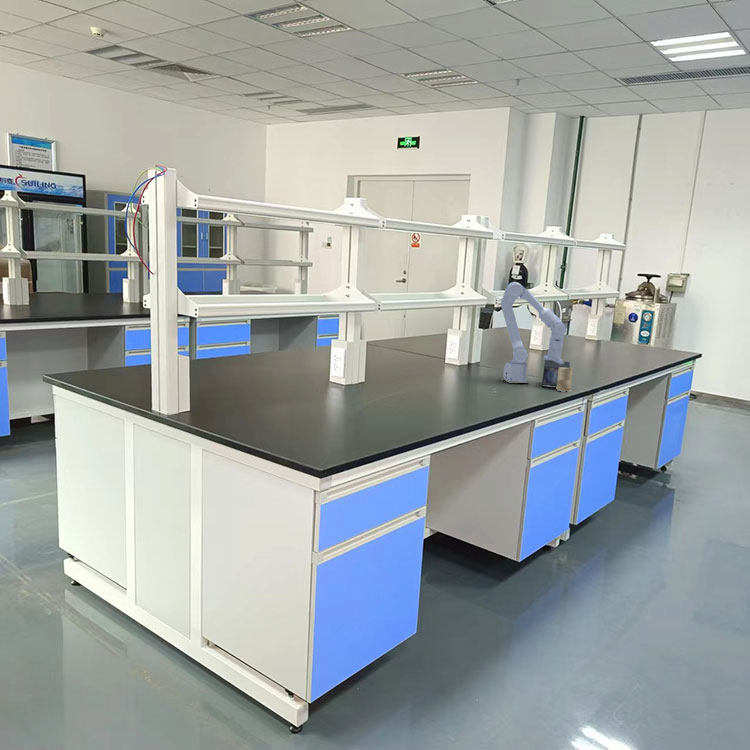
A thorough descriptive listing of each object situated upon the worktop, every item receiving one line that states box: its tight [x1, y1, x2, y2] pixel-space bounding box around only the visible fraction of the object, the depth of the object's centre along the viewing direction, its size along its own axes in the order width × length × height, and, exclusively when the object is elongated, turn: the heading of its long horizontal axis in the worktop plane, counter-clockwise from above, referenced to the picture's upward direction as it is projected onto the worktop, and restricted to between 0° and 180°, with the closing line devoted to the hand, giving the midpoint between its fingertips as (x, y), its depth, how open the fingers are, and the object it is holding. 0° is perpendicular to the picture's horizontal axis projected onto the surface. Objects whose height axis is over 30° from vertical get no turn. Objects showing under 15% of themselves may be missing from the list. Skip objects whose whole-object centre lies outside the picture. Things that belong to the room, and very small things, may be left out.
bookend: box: [555, 367, 574, 392], centre depth 274 cm, size 6×3×10 cm, turn 103°
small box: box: [541, 360, 571, 386], centre depth 281 cm, size 11×6×10 cm, turn 75°
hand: (550, 379), depth 286 cm, fingers closed, pressing on small box
